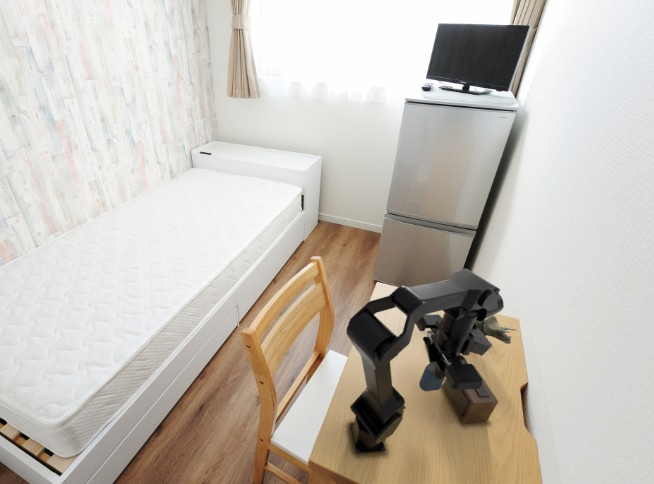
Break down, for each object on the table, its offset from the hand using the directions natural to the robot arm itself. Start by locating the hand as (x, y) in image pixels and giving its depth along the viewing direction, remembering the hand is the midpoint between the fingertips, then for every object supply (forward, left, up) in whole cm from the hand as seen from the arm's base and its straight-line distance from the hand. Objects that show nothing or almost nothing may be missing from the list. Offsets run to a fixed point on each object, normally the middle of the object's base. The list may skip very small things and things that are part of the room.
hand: (435, 373), depth 80 cm
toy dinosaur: (+21, +20, -12) cm, 32 cm away
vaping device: (0, 0, -5) cm, 5 cm away
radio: (+10, -1, -11) cm, 15 cm away
